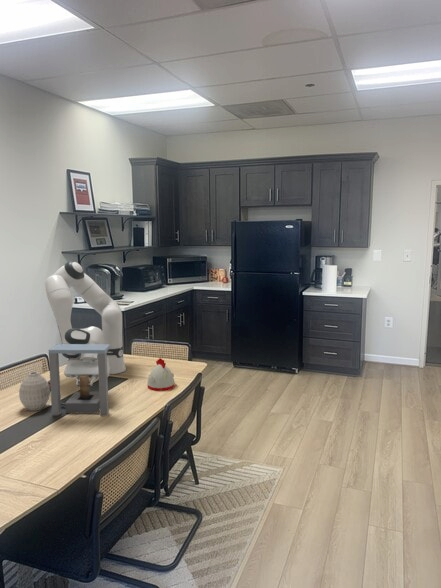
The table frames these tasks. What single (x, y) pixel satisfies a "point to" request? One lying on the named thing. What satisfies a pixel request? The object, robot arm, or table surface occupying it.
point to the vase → (34, 391)
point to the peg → (84, 386)
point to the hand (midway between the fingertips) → (84, 385)
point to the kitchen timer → (161, 377)
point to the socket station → (77, 402)
